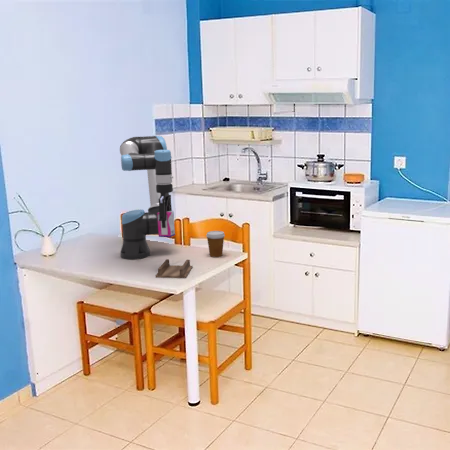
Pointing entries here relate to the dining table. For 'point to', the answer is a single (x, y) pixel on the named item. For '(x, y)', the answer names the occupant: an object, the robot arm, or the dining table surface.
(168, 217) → the supplement box
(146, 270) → the dining table surface
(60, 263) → the dining table surface
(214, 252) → the disposable coffee cup
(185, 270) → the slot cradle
